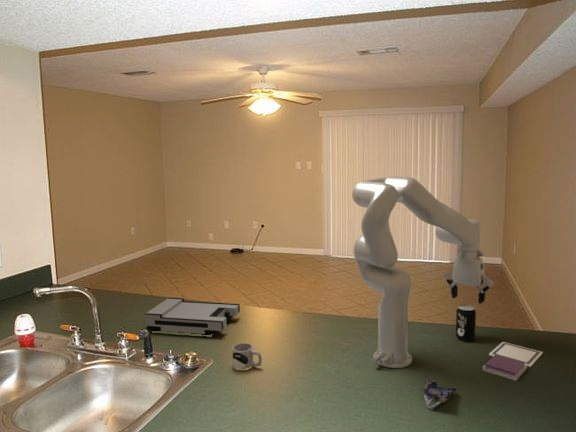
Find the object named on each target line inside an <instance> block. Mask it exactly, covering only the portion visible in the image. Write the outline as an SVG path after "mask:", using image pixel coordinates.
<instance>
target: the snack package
mask: <svg viewBox="0 0 576 432" xmlns="http://www.w3.org/2000/svg"><path fill="white" fill-rule="evenodd" d="M422 390H423V399H424V401H425V404H426V406H427V408H428V409H429V410H431V411H432V410H434V409H435V408H436V407H438V406H440V405H441V404H443V403H445V402H447V401H448V400H449V398H451V397H452V395H453V394H454V393H456V392H457V389H456V388H454V387H448V386H447V387H446V386H443V387H439V386H438V383H437V382H436V381H435V380H428V381H427V382H426V383H425V384H424V385H423V386H422ZM435 398H439V400H438V401H437V402H436V403H435V404H432V405H431V406H429V404H430V403H431V402H432V401H434V400H435Z"/></svg>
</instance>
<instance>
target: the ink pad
mask: <svg viewBox="0 0 576 432" xmlns="http://www.w3.org/2000/svg"><path fill="white" fill-rule="evenodd" d="M524 364H525V363H524V362H521V361H517V360H513V359H510V358H506V357H503V356H499V355H495V356H491V358H490V359H488V361H487V362H486V363H485V364H484V365H483V366H482V371H484V372H486V373H490V374H493V375H496V376H500V377H503V378H506V379H509V380H513V381H515V382H516V381H518V380H519V378H520V377H521V376H522V375H523V374H524V373H525V372H526V370H527V369H528V366H527V365H524Z"/></svg>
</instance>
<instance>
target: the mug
mask: <svg viewBox="0 0 576 432" xmlns="http://www.w3.org/2000/svg"><path fill="white" fill-rule="evenodd" d="M231 349H232V367H233V366H234V367H235V368H238V369H246V368H249V367H251V366H252V367H253V368H254V367H261V366H262V362H263V360H262V353H261V352H259V351H257V350H255V349H254V347H253V345H252V344H251V343H248V342H240V343H236V344H234V345H233V346H232V348H231ZM254 355H255V356H257V357H258V361H257V362H256V361H254Z"/></svg>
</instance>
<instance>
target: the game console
mask: <svg viewBox="0 0 576 432" xmlns="http://www.w3.org/2000/svg"><path fill="white" fill-rule="evenodd" d="M184 299H185V298H183V297H168V298H166V299H165V300H164V301H162V302H161V303H158V304H157V305H156V306H155V307H152V308H151V309H150V310H149V311H147V312H145V313H144V315H143V317H144V326H145V327H146V330H149V331H151V332H152V331H167V332H178V333H191V334H201V335H211V334H214V335H218V334H219V333H220V331H221V332H223V331H224V329H225V328H226V327H228V325H227V322H228V323H229V322H230V321H231V320H232V319H233V318H234V317H237V315H238V314H239V313H240V312H241V310H240V303H228V302H227V303H224V302H209V301H208V302H207V301H190V300H184Z"/></svg>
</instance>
